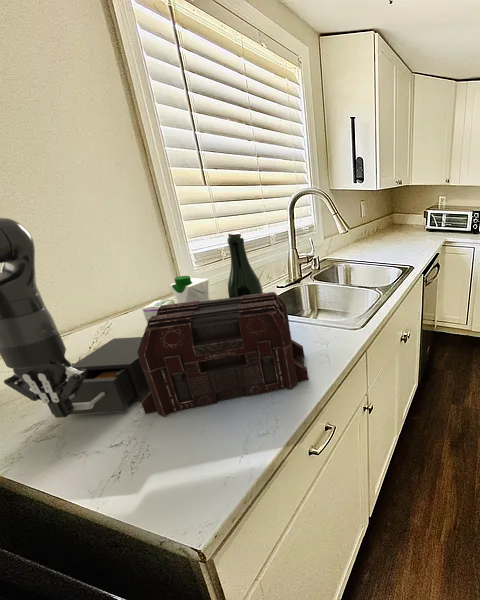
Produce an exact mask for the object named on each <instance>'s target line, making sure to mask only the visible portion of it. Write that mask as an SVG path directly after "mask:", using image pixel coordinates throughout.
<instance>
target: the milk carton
mask: <svg viewBox="0 0 480 600" xmlns="http://www.w3.org/2000/svg"><path fill="white" fill-rule="evenodd" d="M209 285H210V280H209V278H195V277H194V278H193V277H191V276H189V275H180V276H176V277H175V278H174V282H173V283H171V284H168V287H169V288H170V291H171V292H172V294H173V296H174V298H175V301H176V302H175V303H176V304H177V303H185V302H193V301H199V302H201V301H209V300H211V295H210V289H209V287H210V286H209Z"/></svg>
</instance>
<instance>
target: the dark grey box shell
mask: <svg viewBox="0 0 480 600" xmlns="http://www.w3.org/2000/svg"><path fill="white" fill-rule="evenodd" d="M142 337H143V336H133V337H116V338H115V337H114V338H112V339H110V340H109V341H107V342H106V343H104V344H103V345H101V346H100V347H98V348H97V349H95V350H94V351H92V352H90V353H89V354H88V355H86V356H84V357H83V358H81V359H80V360H78V361H77V362H75V363H73V364H71V367H72V368H75V369H77V370H79V371H80V370H81V369H86V370H97V369H114V368H128V371H129V373H130V376H131V379H132V382H133V384H134V387H135V390H136V392H137V395H136V396H135V397H134V398H132V399H131V400H130V401H129V402H136V401H137V402H138V401H143V399H144V398H145V397H146V396H147V395H148V393H149V392H150V389H149V386H148V383H147V380H146V377H145V374H144V371H143V369H142V366H141V363H140V360H139V357H138V354H137V351H138V349H139V346H140V343H141V340H142Z"/></svg>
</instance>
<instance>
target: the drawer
mask: <svg viewBox="0 0 480 600" xmlns="http://www.w3.org/2000/svg"><path fill="white" fill-rule="evenodd" d="M87 371H88V373H87V375H86V377H85V379H84V381H83V382H82V384H81V386H80V388H79V390H78V391H77V392H75V393H74V394H73V395H71V396H70V397H69V398H70V400H71V402H72V405H73V407H74V410H73V412H72V413H70V414H69V415H68V416H71V415H88V414H101V413H102V414H103V413H115V412H117V413H118V412H126V411H127V410H128V409H129V407H130V406H129V405H128V403H130V402H131V401H130V400H131V399H132V398H134V397H135V396H136V395H137V392H136V390H135V387H134V384H133V382H132V379H131V376H130V373H129V371H128V368H114V369H97V370H87ZM111 371H119V372H118V373H117V374H115V378H99V379H94V378H96V377H97V376H98V375H100V374H101V373H102V372H111ZM59 391H60V390H59Z"/></svg>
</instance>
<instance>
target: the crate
mask: <svg viewBox="0 0 480 600" xmlns="http://www.w3.org/2000/svg"><path fill="white" fill-rule="evenodd" d="M287 307H288V306H287V304H286V303H285V302H284V301H283V300H282V298H281V297H280V296H279V295H278V294H277V293H276V292H275V291H269V292H263V293H260V294H252V295H243V296H241V297H234V298H229V297H226V298H219V299H210V300H209V301H201V302H199V301H193V302H185V303H177V302H176V303H175V304H168V305H161V306H160V307H159V308H158V311H157V315H156V316H152V317H151V318H150V319H149V320H148V324H147V323H146V326H145V328H144V332H143V335H142V336H141V337H142V340H141V343H140V346H139V349H138V351H137V354H138V357H139V360H140V363H141V366H142V369H143V371H144V374H145V377H146V380H147V383H148V386H149V389H150V392H149V393H148V395H147V396H146V397H145V398H144V399H143V400H141V403H140V404H141V407H142V409H143V412H144V415H147V414H151V413H152V414H153V413H155V412H157V415H158V416H160V417H163V418H166V417H168V416H169V415H171V414H174V413H179V412H184V411H188V410H193V409H198V408H202V407H208V406H211V405H216V404H218V402H222V401H227V400H231V399H236V398H242V397H246V398H250V397H254V396H258V395H259V396H260V395H263V394H268V393H274V392H279V391H282V390H289V391H292V390H293V389H295V388H296V387H297V386H298V383H300V382H304V381H309V373H308V372H309V371H308V367H307V366H306V365H305V361H304V358H305V352H304V346H303V345H301V344H300V343H299V342H297V341H295V340H293V339H292V334H291V327H290V321H289V314H288V308H287Z"/></svg>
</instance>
